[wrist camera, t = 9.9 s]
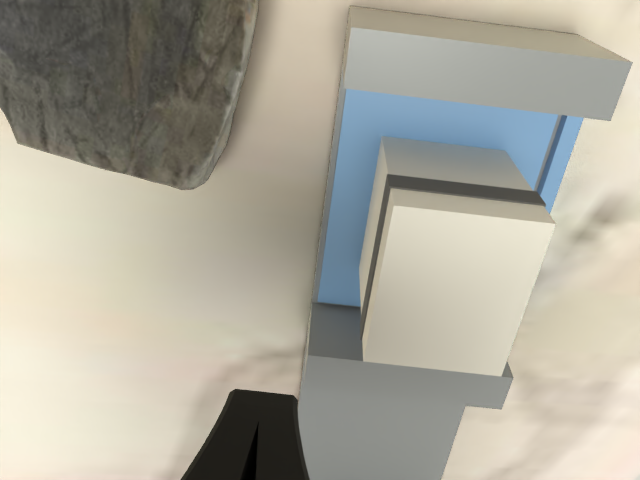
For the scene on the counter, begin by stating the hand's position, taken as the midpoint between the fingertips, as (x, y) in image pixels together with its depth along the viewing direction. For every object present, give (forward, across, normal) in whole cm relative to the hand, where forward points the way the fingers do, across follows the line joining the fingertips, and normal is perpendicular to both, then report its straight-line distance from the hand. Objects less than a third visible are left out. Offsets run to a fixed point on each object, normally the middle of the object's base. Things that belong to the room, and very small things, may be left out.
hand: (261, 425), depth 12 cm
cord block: (+9, -4, -1) cm, 10 cm away
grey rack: (+10, -4, +4) cm, 12 cm away
